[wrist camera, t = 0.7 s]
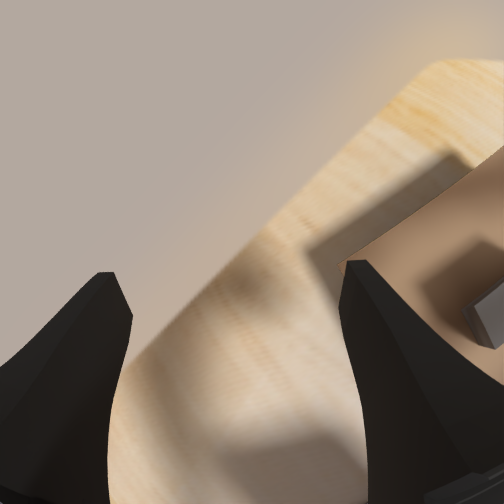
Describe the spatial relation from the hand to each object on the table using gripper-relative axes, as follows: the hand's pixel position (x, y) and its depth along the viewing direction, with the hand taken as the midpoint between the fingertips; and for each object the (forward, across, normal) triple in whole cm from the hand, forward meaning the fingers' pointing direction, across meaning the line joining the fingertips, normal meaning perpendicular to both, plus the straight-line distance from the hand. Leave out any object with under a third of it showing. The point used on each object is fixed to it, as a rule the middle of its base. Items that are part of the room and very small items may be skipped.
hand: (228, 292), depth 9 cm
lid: (+2, -15, +5) cm, 16 cm away
